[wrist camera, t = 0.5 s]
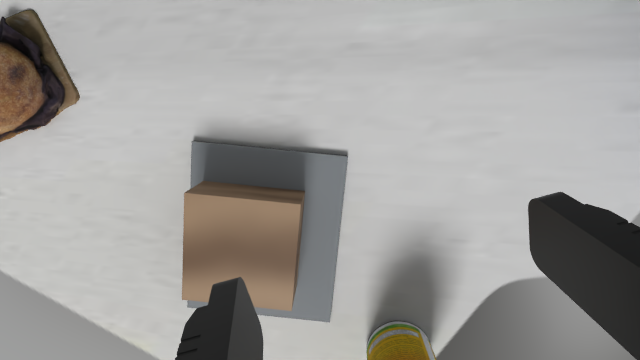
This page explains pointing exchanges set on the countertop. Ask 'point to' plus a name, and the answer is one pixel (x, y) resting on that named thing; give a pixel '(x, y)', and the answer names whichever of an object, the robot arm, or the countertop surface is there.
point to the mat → (318, 215)
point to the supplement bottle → (399, 343)
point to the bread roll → (30, 76)
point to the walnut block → (242, 241)
